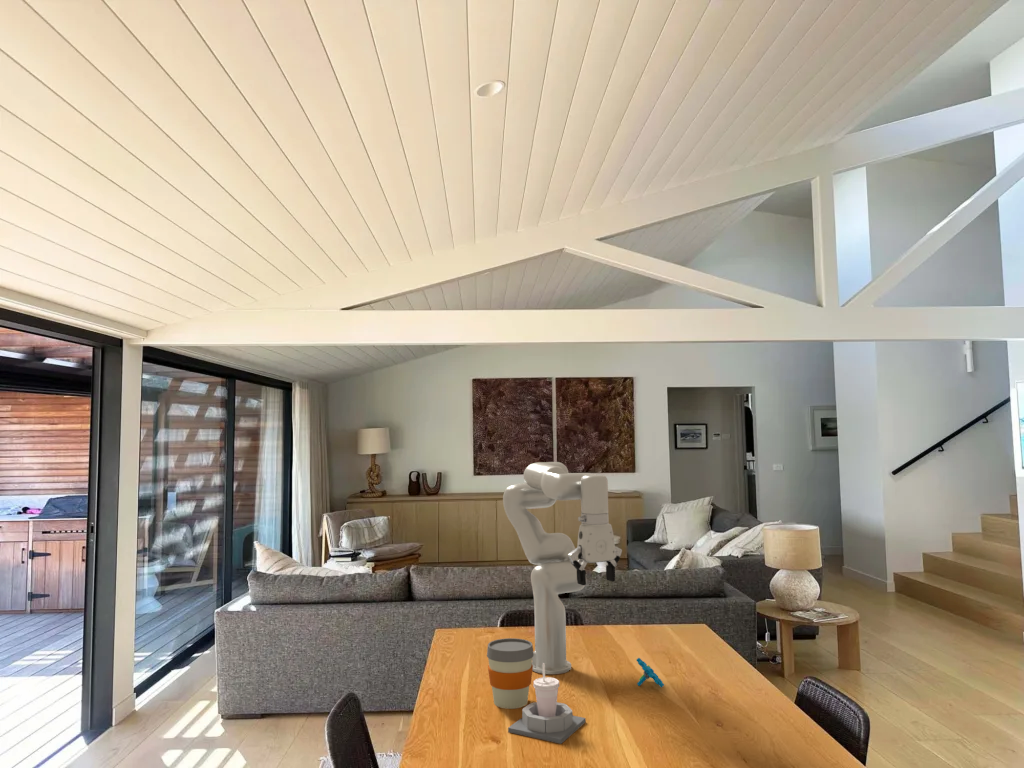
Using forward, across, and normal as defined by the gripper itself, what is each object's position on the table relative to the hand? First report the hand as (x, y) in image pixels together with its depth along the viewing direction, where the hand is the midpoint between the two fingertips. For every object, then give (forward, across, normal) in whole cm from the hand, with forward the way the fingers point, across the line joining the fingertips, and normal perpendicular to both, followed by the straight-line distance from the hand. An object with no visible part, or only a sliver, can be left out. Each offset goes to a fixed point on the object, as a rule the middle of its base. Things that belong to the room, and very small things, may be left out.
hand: (596, 582), depth 193 cm
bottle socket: (+30, -23, -11) cm, 39 cm away
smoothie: (+29, -23, -10) cm, 39 cm away
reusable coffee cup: (+31, -23, +8) cm, 39 cm away
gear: (+31, +18, 0) cm, 35 cm away
